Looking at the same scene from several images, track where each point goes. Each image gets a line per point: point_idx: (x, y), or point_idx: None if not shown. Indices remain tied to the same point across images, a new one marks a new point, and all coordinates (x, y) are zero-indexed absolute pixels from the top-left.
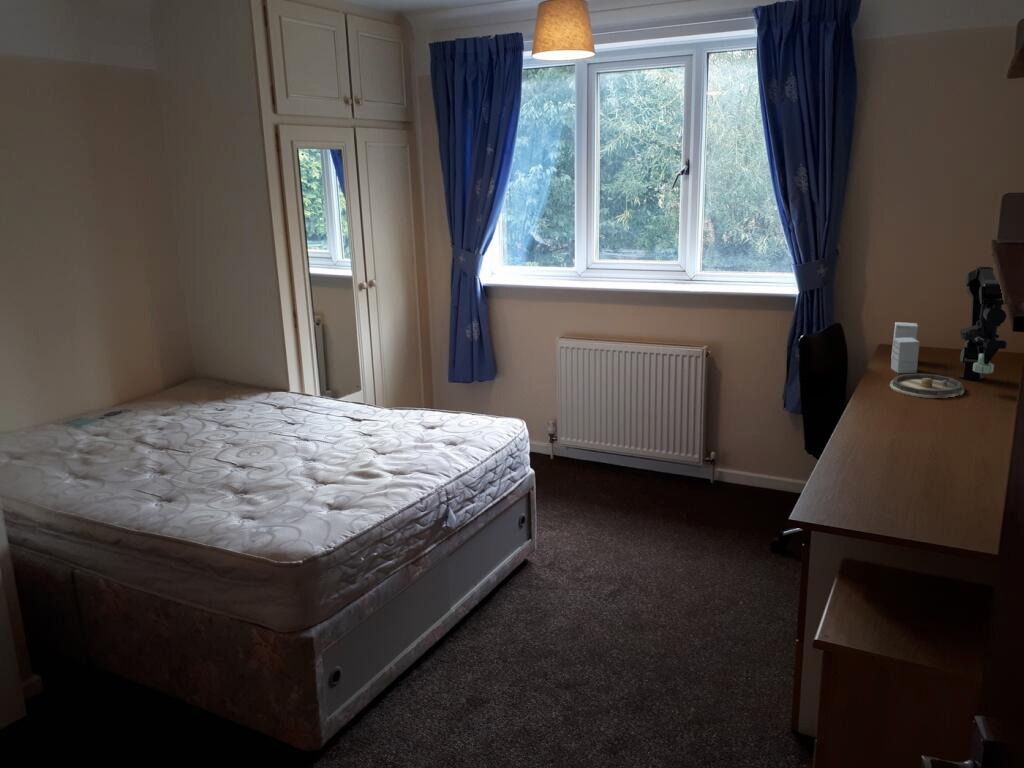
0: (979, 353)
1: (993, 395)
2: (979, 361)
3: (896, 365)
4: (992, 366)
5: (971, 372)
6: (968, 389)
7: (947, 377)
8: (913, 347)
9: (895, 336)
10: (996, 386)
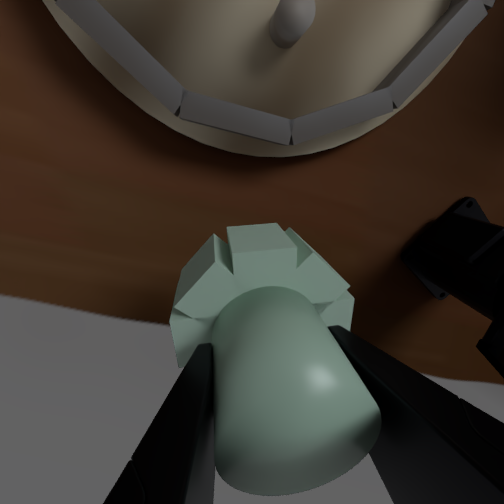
0: (393, 389)
1: (174, 275)
2: (252, 314)
3: None
4: None
5: (447, 251)
6: (271, 187)
7: (406, 85)
8: None
9: None
10: None
